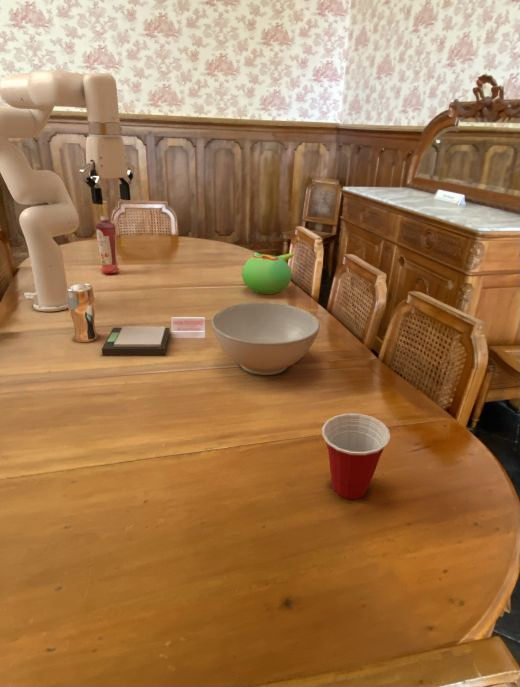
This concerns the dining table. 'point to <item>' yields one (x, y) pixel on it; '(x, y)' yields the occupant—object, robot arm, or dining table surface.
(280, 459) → the dining table surface
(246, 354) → the decorative bowl
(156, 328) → the scale
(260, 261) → the green round pot
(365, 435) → the plastic cup
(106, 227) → the liquor
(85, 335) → the beer glass
